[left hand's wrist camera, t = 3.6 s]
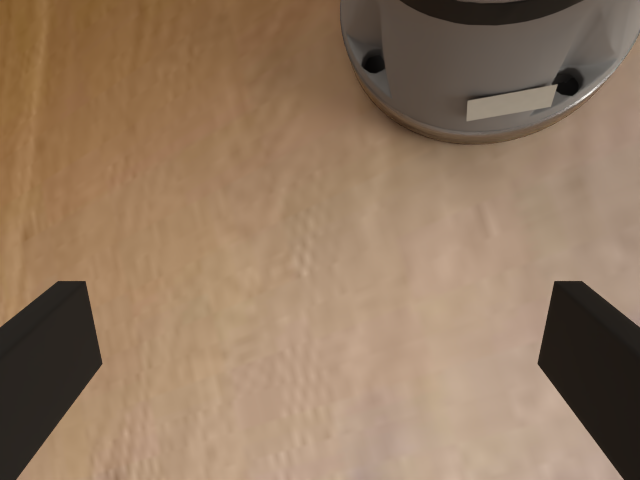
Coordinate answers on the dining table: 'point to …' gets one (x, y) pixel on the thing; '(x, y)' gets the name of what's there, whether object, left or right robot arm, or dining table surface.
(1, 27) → the dining table surface
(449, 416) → the dining table surface
